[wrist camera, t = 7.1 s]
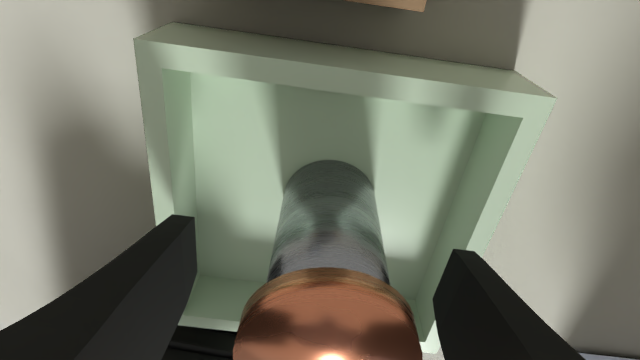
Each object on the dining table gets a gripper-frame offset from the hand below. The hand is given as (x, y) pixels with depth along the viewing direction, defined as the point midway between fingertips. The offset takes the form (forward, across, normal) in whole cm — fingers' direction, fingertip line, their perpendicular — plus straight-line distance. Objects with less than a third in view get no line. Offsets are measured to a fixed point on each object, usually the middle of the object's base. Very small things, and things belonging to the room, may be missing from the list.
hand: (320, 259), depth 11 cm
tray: (+4, 0, 0) cm, 4 cm away
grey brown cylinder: (+3, 0, 0) cm, 3 cm away
